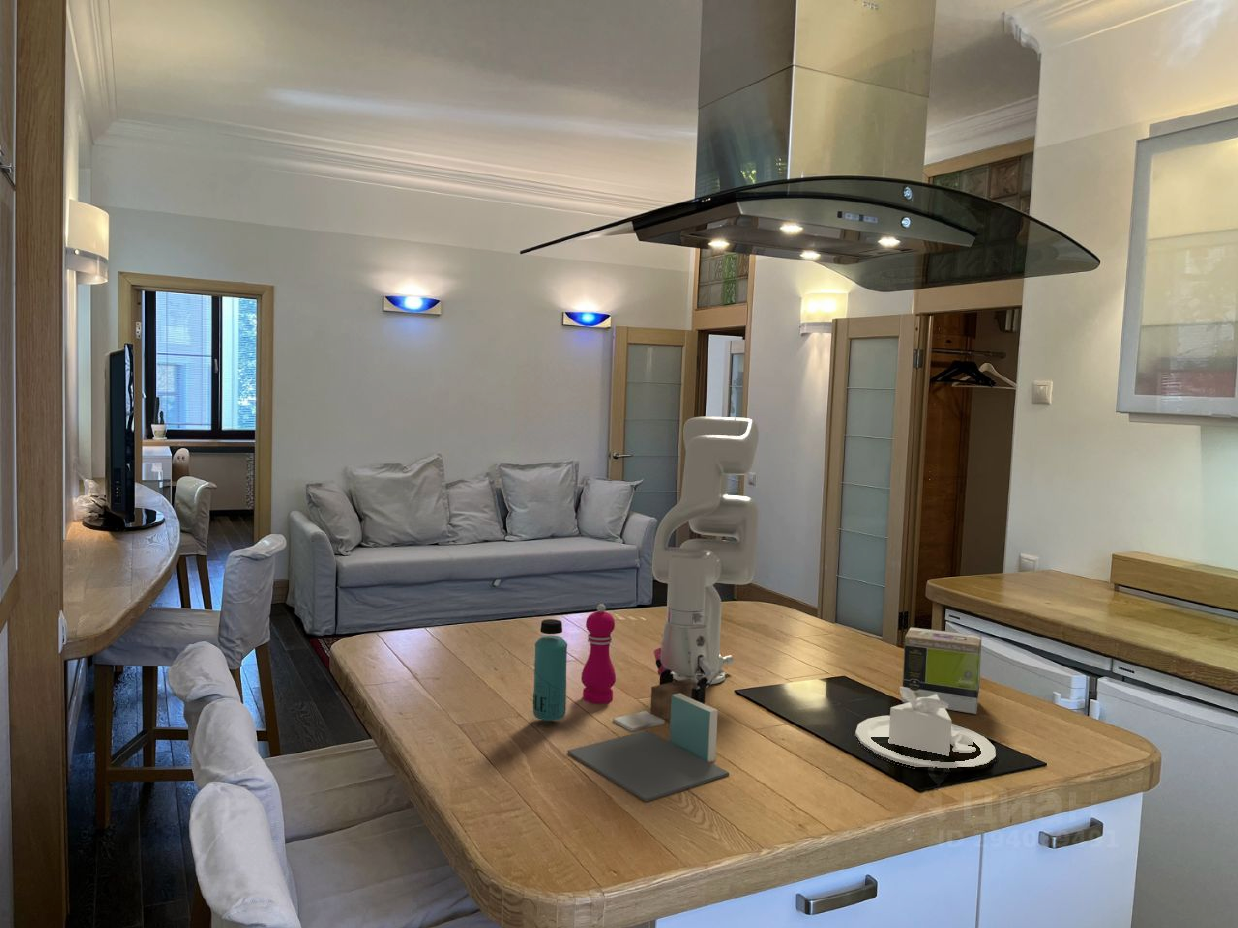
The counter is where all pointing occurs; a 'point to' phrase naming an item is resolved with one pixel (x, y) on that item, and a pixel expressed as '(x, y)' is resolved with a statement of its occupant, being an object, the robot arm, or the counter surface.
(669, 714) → the wooden handled spatula
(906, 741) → the dish
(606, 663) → the pepper mill
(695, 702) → the tile
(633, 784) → the tile mat
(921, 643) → the tea box
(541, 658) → the beverage bottle
